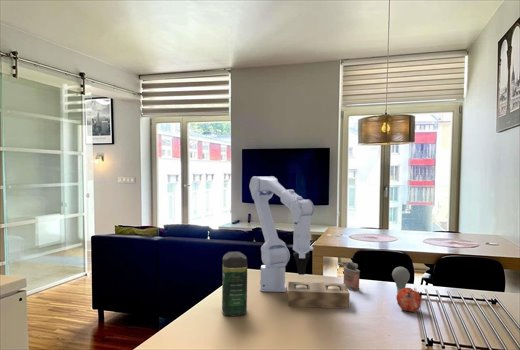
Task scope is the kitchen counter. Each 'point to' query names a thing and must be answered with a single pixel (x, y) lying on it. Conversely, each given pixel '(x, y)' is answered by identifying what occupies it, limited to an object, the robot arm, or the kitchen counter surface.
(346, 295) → the wooden block with recesses
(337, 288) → the right peg
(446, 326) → the kitchen counter surface
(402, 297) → the pomegranate
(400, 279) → the light bulb
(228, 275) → the coffee jar
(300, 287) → the left peg
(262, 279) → the robot arm
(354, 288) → the red ornate tin
